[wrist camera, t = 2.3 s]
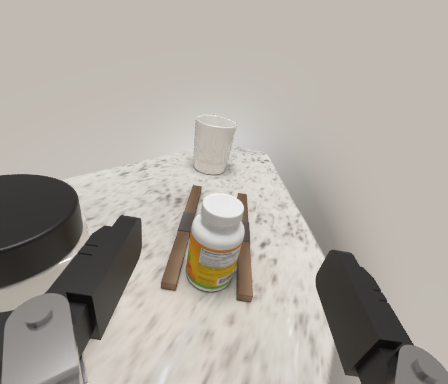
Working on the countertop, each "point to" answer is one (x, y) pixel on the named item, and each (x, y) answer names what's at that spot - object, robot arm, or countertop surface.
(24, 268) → the jar
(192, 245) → the supplement bottle
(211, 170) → the white cup
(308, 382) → the countertop surface
